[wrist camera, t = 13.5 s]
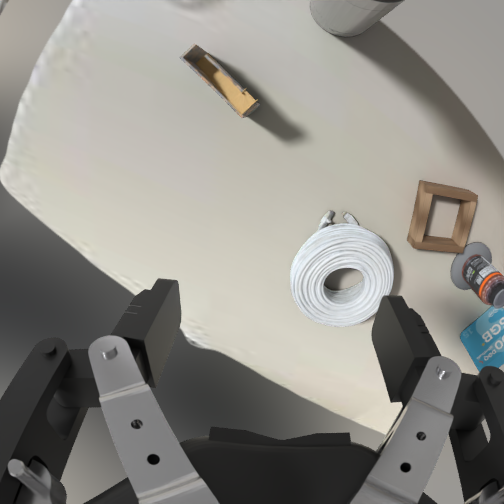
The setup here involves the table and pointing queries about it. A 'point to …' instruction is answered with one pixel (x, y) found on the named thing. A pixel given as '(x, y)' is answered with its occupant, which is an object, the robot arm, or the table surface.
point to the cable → (336, 257)
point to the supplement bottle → (484, 280)
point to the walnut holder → (422, 212)
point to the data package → (486, 339)
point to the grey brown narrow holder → (220, 80)
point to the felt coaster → (461, 259)
